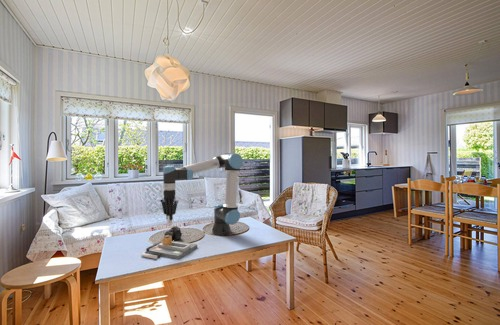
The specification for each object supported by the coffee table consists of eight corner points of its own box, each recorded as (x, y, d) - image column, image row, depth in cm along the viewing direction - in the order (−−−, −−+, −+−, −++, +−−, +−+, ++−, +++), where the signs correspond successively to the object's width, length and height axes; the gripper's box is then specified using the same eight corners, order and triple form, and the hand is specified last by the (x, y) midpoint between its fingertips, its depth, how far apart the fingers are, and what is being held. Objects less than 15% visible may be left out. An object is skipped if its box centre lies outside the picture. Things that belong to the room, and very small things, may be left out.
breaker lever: (167, 244, 163) (166, 234, 163) (171, 245, 161) (171, 235, 161) (162, 246, 159) (162, 236, 159) (167, 247, 157) (167, 237, 157)
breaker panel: (171, 243, 171) (171, 237, 171) (197, 247, 163) (197, 241, 163) (150, 253, 153) (150, 247, 153) (178, 259, 145) (178, 252, 145)
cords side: (160, 243, 170) (160, 241, 170) (165, 244, 168) (165, 242, 168) (145, 251, 157) (145, 248, 157) (150, 252, 155) (150, 249, 155)
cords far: (140, 256, 148) (140, 253, 148) (146, 253, 152) (146, 250, 152) (155, 259, 144) (155, 256, 144) (161, 256, 148) (161, 253, 148)
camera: (175, 243, 170) (175, 229, 170) (163, 242, 173) (162, 228, 172) (184, 237, 183) (184, 224, 183) (173, 236, 186) (172, 223, 185)
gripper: (157, 189, 157) (157, 225, 158) (174, 190, 153) (174, 227, 153) (165, 188, 164) (165, 222, 165) (181, 189, 160) (181, 224, 160)
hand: (169, 224), depth 159 cm, fingers closed
